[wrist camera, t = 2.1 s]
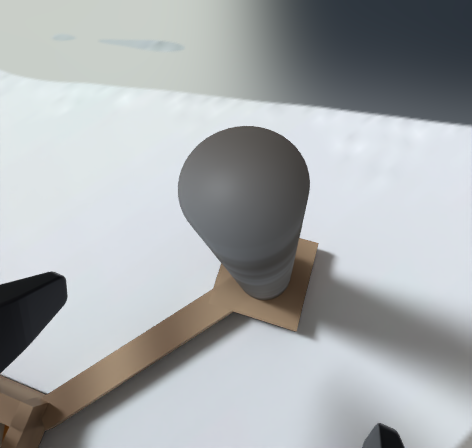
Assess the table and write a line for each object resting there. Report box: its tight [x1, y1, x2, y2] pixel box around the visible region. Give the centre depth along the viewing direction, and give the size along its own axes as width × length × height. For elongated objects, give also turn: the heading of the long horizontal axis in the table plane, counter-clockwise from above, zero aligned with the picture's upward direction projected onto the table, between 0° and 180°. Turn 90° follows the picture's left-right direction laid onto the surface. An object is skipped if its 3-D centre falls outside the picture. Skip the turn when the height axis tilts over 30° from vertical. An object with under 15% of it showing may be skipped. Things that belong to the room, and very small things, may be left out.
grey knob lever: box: [0, 126, 318, 448], centre depth 14 cm, size 16×22×13 cm
